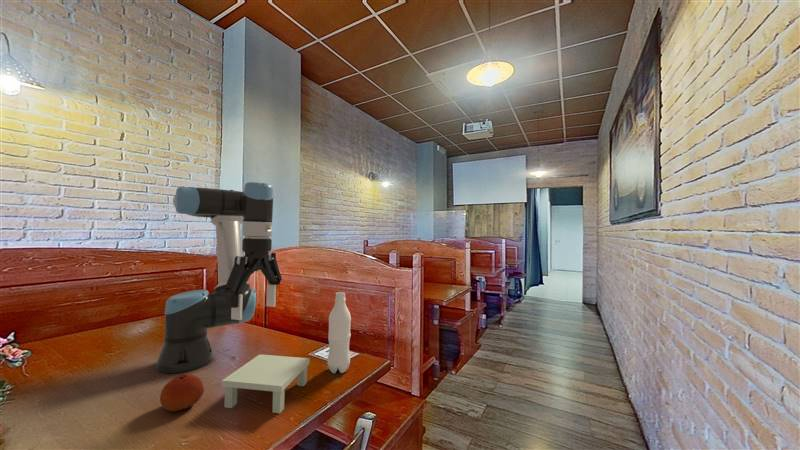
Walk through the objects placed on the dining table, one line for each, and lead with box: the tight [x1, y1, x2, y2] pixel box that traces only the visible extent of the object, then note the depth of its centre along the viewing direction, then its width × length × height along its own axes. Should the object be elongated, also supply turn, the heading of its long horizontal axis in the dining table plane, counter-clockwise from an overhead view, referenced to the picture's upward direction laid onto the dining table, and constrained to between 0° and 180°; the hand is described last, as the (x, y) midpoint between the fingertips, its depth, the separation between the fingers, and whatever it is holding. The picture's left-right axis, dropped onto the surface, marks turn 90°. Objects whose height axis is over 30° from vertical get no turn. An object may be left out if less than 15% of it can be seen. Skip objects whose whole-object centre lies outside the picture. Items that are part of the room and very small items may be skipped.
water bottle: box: [327, 291, 352, 374], centre depth 97 cm, size 7×7×25 cm
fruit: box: [159, 373, 205, 412], centre depth 76 cm, size 9×9×8 cm
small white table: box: [221, 353, 311, 414], centre depth 82 cm, size 16×16×7 cm
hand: (255, 312), depth 85 cm, fingers open, 13 cm apart
